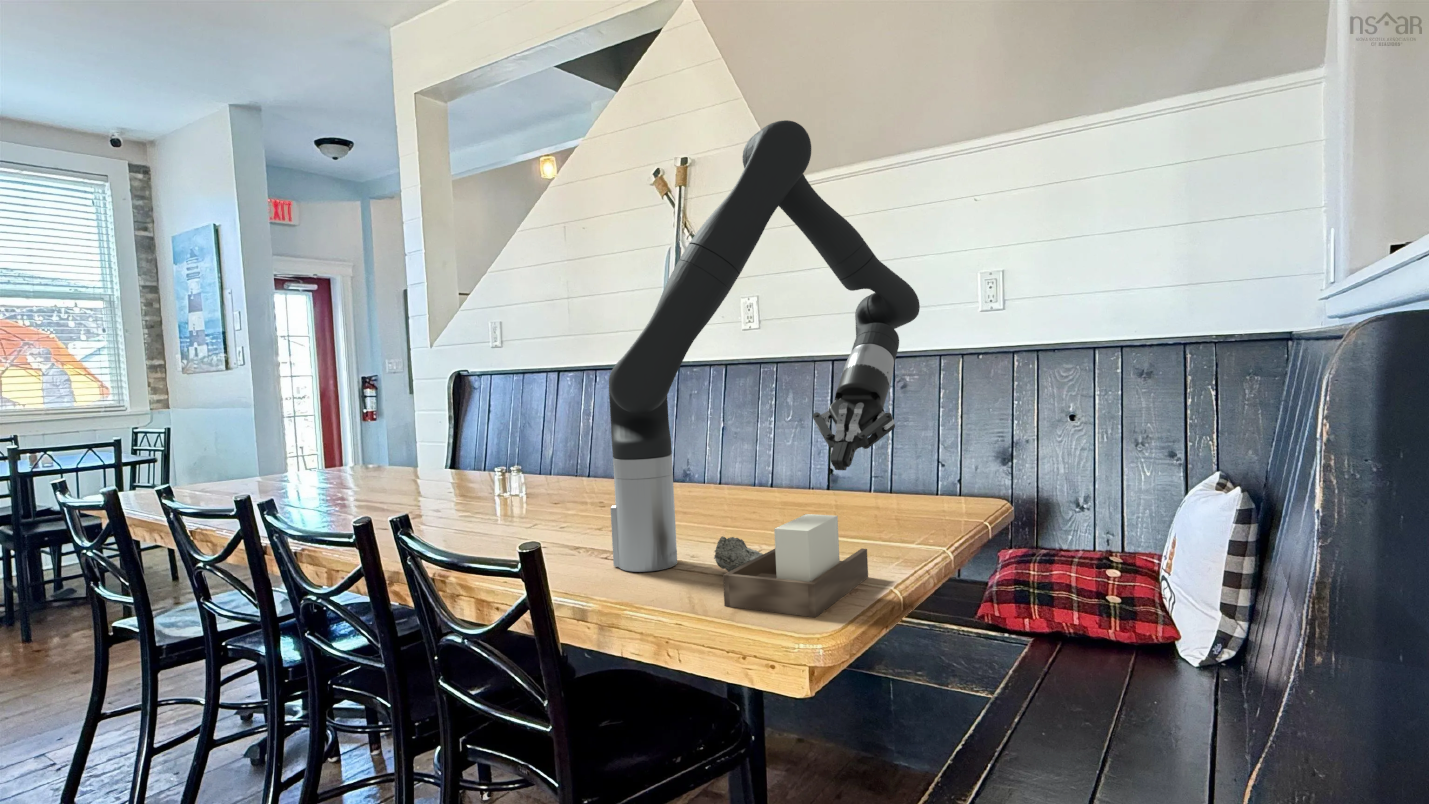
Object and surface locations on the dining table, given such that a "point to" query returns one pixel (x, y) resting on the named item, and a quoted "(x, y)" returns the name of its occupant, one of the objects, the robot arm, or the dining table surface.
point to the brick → (806, 547)
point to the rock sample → (733, 553)
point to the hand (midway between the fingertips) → (838, 466)
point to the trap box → (791, 586)
